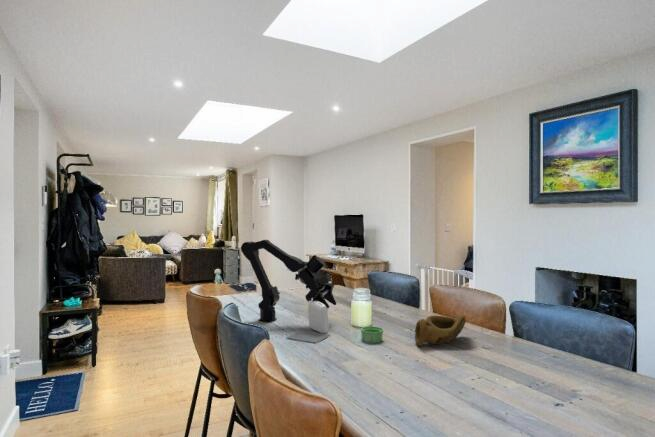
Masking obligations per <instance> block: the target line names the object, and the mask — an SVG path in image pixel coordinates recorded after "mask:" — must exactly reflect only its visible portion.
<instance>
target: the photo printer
mask: <svg viewBox="0 0 655 437" xmlns="http://www.w3.org/2000/svg"><path fill="white" fill-rule="evenodd" d="M307 306H308V307H307V308H308V325H309V328H311V329H312V330H314V331H315V332H317V333H323V334H327V333H328V332H329V314H328V313H329V311H328V308H327V307H326V306H325V305H324V304H323V303H321V302H319V301H312V300H311V301H309V302H308V304H307Z"/></svg>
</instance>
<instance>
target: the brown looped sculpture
mask: <svg viewBox="0 0 655 437" xmlns="http://www.w3.org/2000/svg"><path fill="white" fill-rule="evenodd" d="M466 321H467V320H466V316H465V315H462V316H460V317H458V318H455V317H451V316H445V315H444V316H443V315H430V316H427V317H426V319H423V318H422V319H419V320H418V321H417V322H416V324H415V329H414V330H415V331H414V333H415V334H414V340H415V341H414V342H415V344H416V345H417V346H419V347H422V346H423V345H424V343H429V344H432V345H440V344H443V343H446V344H449V343H450V342H451V341H452V339H454V340H455V339H456V338H457V337H458V336H459V335H460V333H462V331H463V329H464V327H465V325H466Z"/></svg>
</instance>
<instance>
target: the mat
mask: <svg viewBox="0 0 655 437" xmlns="http://www.w3.org/2000/svg"><path fill="white" fill-rule="evenodd" d="M330 335H331V334H329V333H320V332H317V331H310V330H303V329H301V330H299V331H297V332H295V333H292V334H290V335H289V336H287V337H285V339H286V338H288V339H287V340H292V339H293V341H297V340H299V341H298V342H303V341H305V342H304V343H309V342H310V344H315V343H317V344H318V342H319V343H320V342H322V341H324V340H326V339H327V337H328V336H329V337H331V336H330ZM329 337H328V338H329ZM325 338H326V339H325ZM323 339H324V340H323Z"/></svg>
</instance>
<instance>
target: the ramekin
mask: <svg viewBox="0 0 655 437" xmlns="http://www.w3.org/2000/svg"><path fill="white" fill-rule="evenodd" d="M360 332H361V339H362V341H363V342H365V343H370V344H371V343H372V344H374V343H375V344H376V343H380V342H382V341H383V333H384V328H383V327H381V326H376V325H375V326H374V325H367V326H362V327H361V328H360Z"/></svg>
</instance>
